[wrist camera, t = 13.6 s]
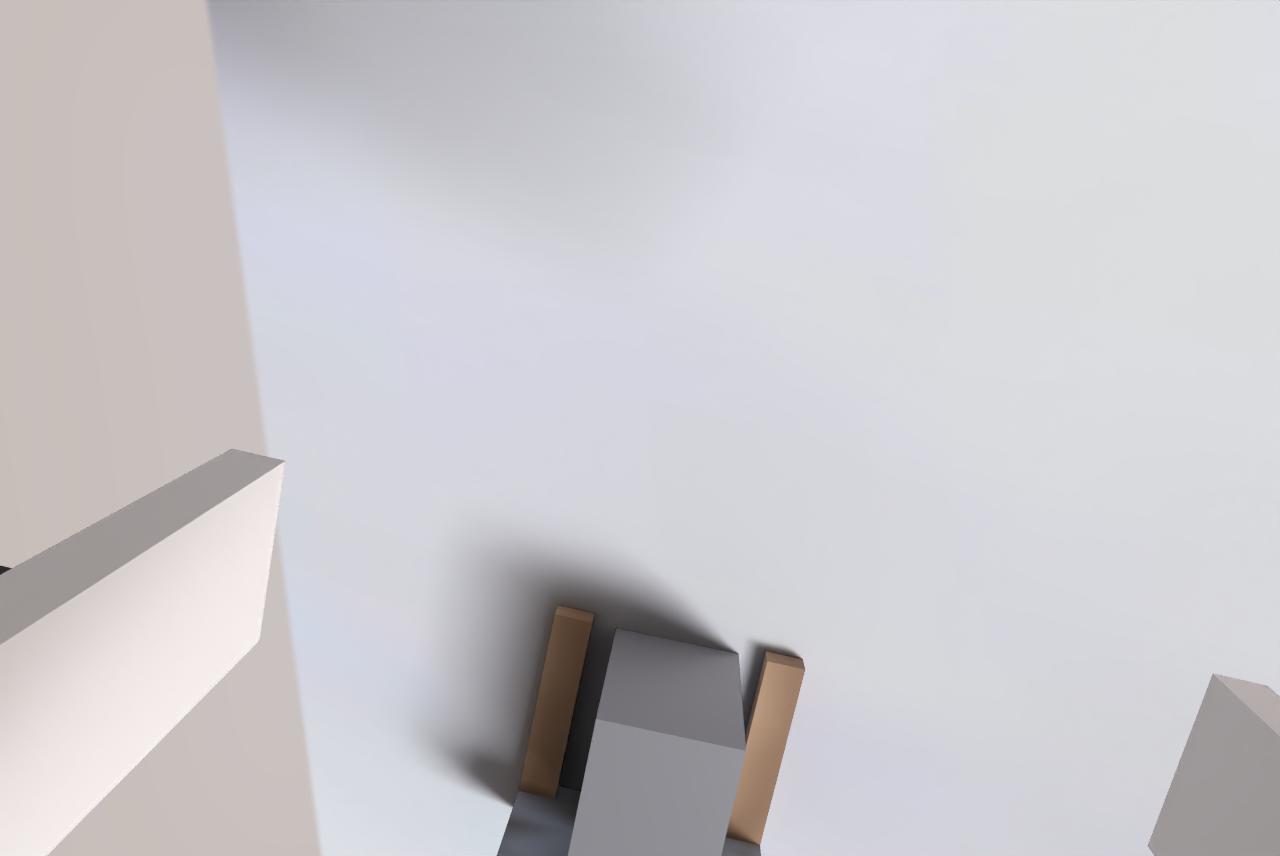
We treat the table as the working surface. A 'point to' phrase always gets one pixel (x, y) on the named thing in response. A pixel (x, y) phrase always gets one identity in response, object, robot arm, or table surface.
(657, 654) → the plug block
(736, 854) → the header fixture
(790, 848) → the table surface
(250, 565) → the robot arm
